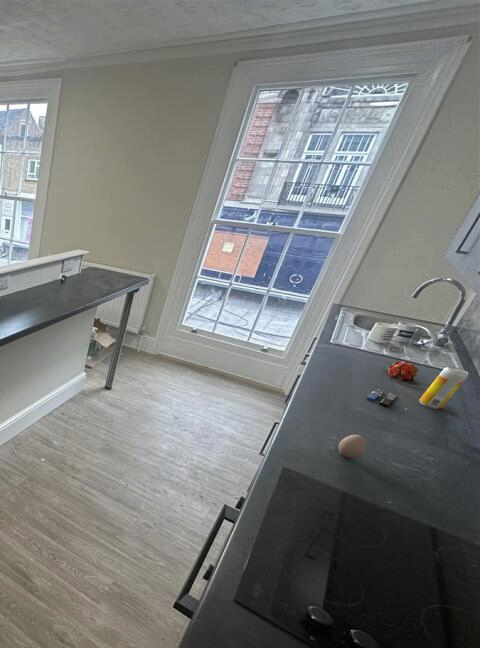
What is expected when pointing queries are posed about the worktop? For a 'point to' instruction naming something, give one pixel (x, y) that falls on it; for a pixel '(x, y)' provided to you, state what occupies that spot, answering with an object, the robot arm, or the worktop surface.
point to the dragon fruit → (403, 371)
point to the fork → (375, 395)
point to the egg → (352, 446)
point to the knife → (388, 400)
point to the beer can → (443, 387)
